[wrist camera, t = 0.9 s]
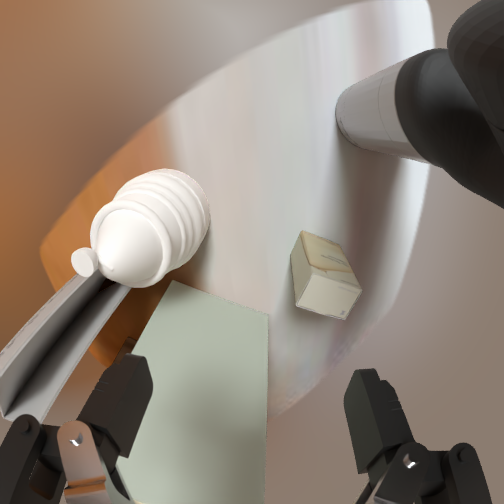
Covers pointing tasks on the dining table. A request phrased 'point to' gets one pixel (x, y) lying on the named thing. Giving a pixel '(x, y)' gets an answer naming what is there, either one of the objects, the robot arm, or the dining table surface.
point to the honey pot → (146, 229)
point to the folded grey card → (54, 345)
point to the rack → (201, 403)
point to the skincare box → (323, 277)
